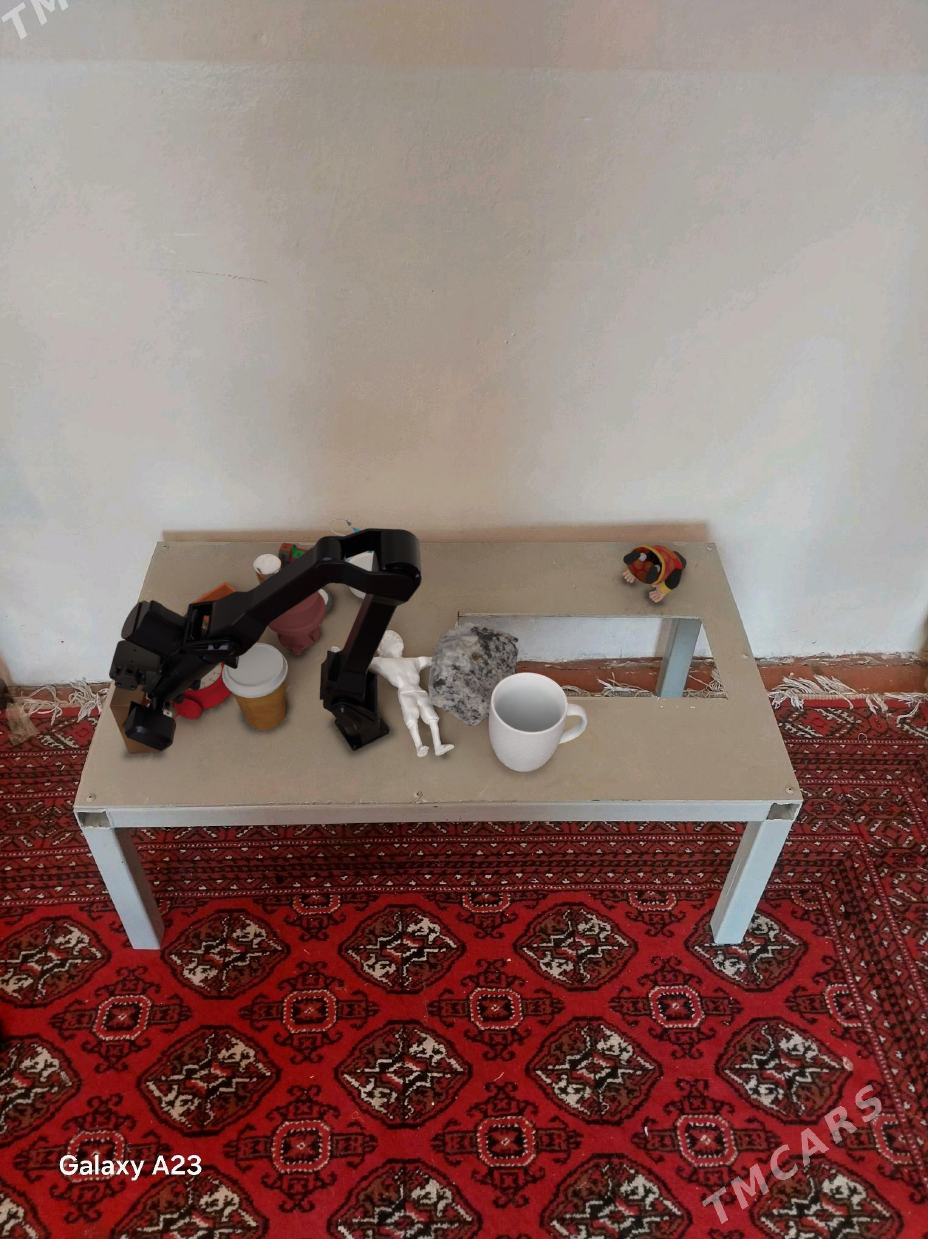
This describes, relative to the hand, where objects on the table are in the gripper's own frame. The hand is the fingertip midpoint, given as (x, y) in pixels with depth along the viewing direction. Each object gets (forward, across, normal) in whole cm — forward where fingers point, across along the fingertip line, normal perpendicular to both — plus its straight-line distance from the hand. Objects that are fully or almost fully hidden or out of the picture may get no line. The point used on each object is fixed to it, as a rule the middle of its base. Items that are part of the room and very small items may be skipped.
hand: (128, 713), depth 127 cm
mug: (-37, +6, +46) cm, 60 cm away
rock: (-41, -5, +37) cm, 56 cm away
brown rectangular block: (+4, +1, +5) cm, 7 cm away
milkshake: (-8, -29, +18) cm, 35 cm away
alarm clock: (0, -9, +10) cm, 13 cm away
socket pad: (-2, -26, +12) cm, 28 cm away
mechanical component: (-12, -19, +21) cm, 31 cm away
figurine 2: (-58, -24, +56) cm, 85 cm away
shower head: (-17, -48, +24) cm, 57 cm away
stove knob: (-13, -27, +22) cm, 38 cm away
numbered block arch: (-12, -35, +21) cm, 43 cm away
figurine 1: (-31, +6, +34) cm, 46 cm away
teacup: (-20, -31, +30) cm, 47 cm away
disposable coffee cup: (-8, -4, +18) cm, 20 cm away
